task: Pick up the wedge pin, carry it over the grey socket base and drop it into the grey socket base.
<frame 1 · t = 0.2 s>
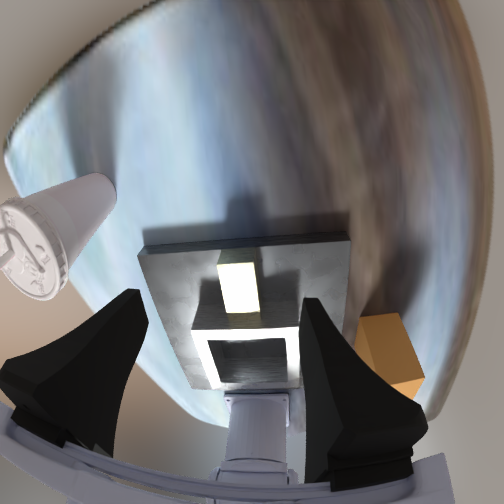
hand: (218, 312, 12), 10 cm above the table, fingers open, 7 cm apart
grey socket base: (253, 325, 26), on the table
wedge pin: (375, 329, 26), on the table
smoothie: (98, 193, 20), on the table
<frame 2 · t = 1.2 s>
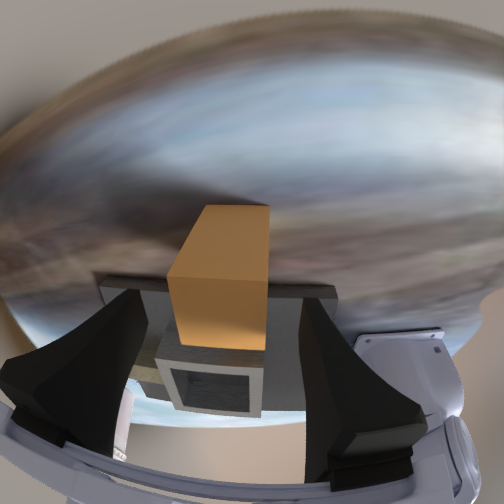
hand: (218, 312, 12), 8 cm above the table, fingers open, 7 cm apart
grey socket base: (219, 353, 25), on the table
wedge pin: (238, 233, 19), on the table
smoothie: (122, 391, 31), on the table
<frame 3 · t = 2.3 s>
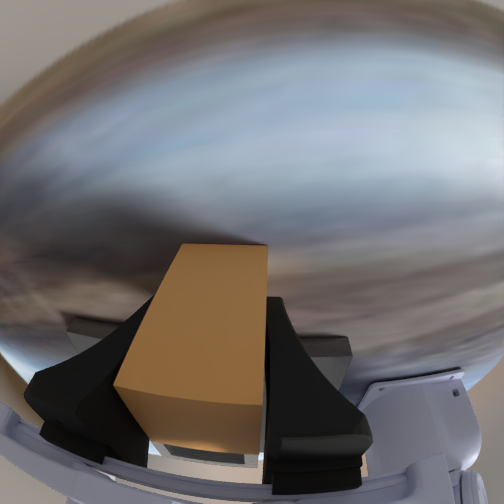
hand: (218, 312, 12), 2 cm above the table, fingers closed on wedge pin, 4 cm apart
grey socket base: (210, 400, 20), on the table
wedge pin: (226, 279, 14), on the table, touching gripper
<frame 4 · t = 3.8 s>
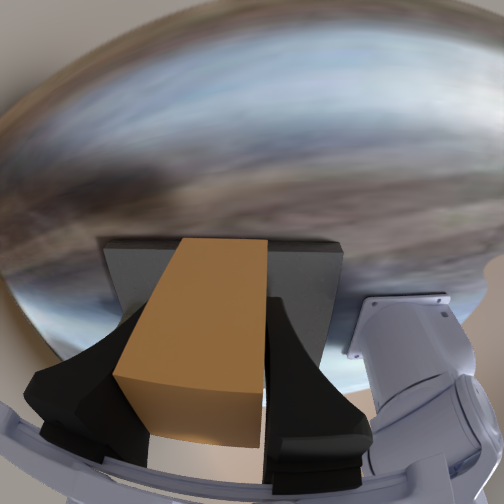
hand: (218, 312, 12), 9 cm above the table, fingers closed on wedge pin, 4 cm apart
grey socket base: (224, 320, 25), on the table
wedge pin: (226, 274, 14), point 7 cm above the table, touching gripper
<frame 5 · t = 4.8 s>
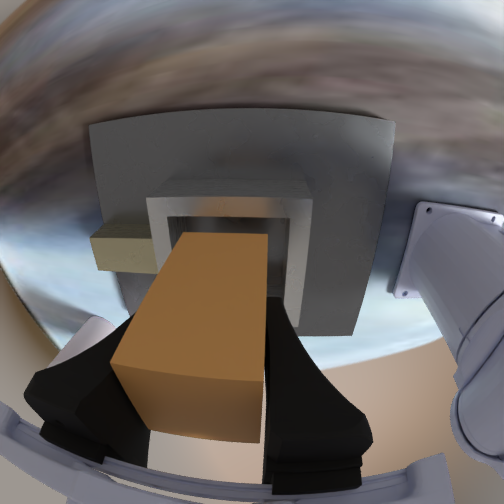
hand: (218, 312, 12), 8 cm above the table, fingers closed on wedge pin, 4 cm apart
grey socket base: (237, 232, 19), on the table
wedge pin: (226, 269, 14), point 5 cm above the table, touching gripper
smoothie: (103, 328, 25), on the table
when the fingers open (5 cm above the table, at t = 5.7 s): wedge pin drops 1 cm, resting on grey socket base.
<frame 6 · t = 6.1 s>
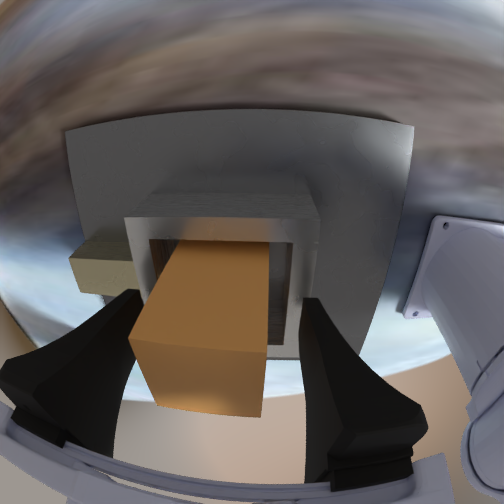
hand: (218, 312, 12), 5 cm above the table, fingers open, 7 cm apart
grey socket base: (232, 250, 17), on the table
wedge pin: (229, 258, 15), point 1 cm above the table, touching grey socket base
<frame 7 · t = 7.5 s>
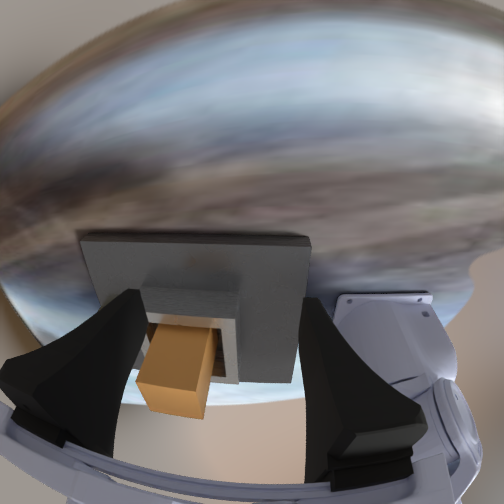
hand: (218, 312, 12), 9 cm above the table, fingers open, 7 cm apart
grey socket base: (197, 314, 25), on the table
wedge pin: (193, 323, 23), point 1 cm above the table, touching grey socket base
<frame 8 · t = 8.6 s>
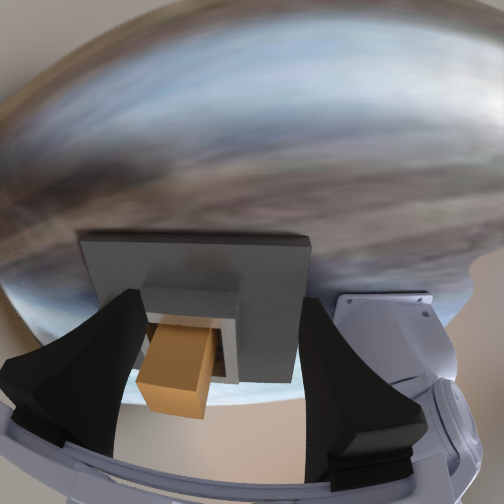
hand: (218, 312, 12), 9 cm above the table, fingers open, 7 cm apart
grey socket base: (197, 314, 25), on the table
wedge pin: (193, 323, 23), point 1 cm above the table, touching grey socket base
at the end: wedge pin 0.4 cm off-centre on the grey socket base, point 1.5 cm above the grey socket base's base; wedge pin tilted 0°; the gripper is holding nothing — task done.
